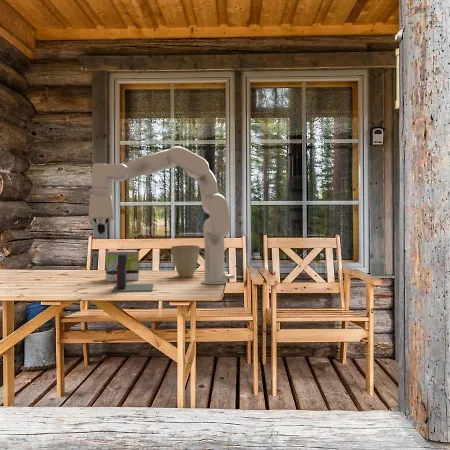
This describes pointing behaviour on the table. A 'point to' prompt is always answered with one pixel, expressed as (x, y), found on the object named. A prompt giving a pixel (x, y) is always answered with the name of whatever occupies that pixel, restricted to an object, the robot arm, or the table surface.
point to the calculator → (121, 270)
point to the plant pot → (185, 259)
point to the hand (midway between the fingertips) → (101, 233)
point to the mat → (134, 288)
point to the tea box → (131, 264)
